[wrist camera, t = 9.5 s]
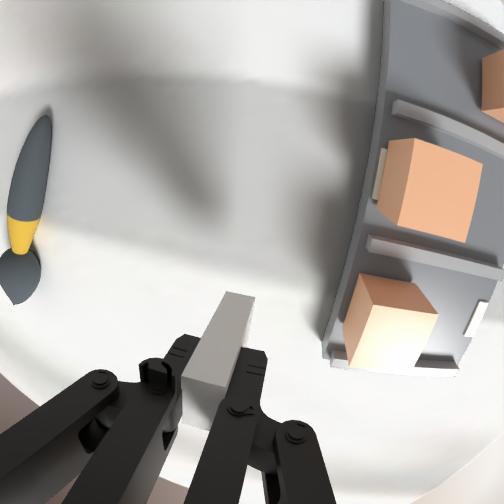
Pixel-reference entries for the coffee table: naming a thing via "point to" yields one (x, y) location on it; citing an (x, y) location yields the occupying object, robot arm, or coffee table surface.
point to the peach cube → (429, 188)
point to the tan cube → (387, 324)
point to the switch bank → (446, 136)
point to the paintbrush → (26, 213)
